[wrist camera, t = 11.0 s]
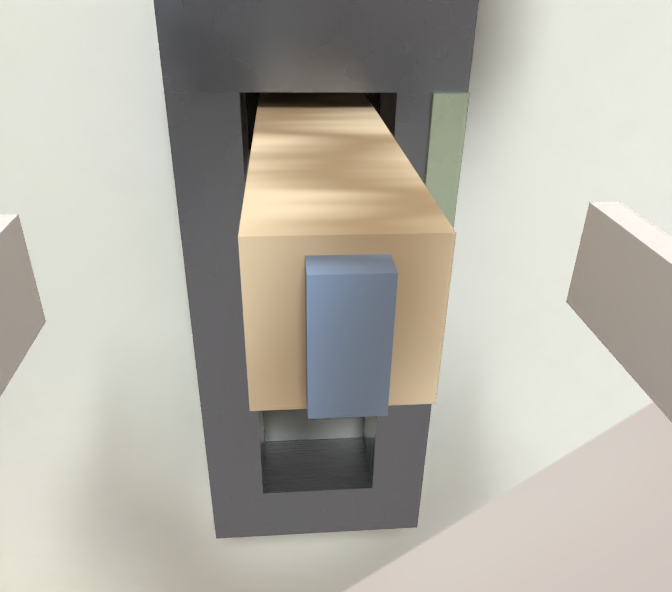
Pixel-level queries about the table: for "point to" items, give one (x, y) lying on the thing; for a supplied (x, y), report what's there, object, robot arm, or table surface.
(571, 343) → the table surface
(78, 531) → the table surface
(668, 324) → the robot arm
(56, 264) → the table surface
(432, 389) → the plug
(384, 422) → the panel
